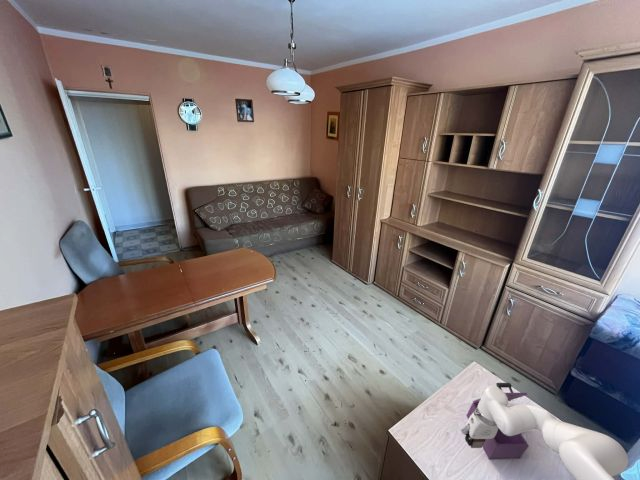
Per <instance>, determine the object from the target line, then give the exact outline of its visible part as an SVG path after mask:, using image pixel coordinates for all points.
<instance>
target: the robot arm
mask: <svg viewBox="0 0 640 480" xmlns="http://www.w3.org/2000/svg"><path fill="white" fill-rule="evenodd" d="M501 389H502V388H501ZM501 389H499V388H498V387H497V386H494V385H489V386H487V387H486V388H485V389H484V391H483V392H484V393H483V392H482V395H481V397H480V398H481V399H480V398H479V399H480V401H479V404H478V406H477V408H476V410H475V411H474V412H473V413H472V415H471V416H470V417H469V419H468V418H467V420H466V422H465V426H464V427H463V428H461V429H460V431H461V434H462V435H464V436H465V437H464V439H465V443H467V445H468V446H469V447H471V444H472V442H473V439H484V441H485V440H487V439H492V438H494V437H495V436H496V434H497V431H498V428H499V429H500V430H501V432H502V433H504V434H505V435H507V436H514V435H517V434H520V433H521V434H523V433H525V432H530V431H533V430H538V431H541V433H542V437H543V440H544V442H545V444H546V446H547V447H548V448H549V449H550V450H551V451H553V452H555V453H556V454H559V456H560V460H561V461H562V463H563V465H564V466H565V467H566V469H567V470H568V471H569V473H570V474H571V475H572V476H573V478H574V479H575V480H616V479H615V478H614V477H615V476H617V475H620V474H622V473H623V472H624V471H625V470H626V469H627V467H628V465H629V458H628V453H627V451H626V450H625V449H624V447H623V446H622V445H621V443H619V442H618V441H617V440H615V439H614V438H612V437H611V436H609V435H607V434H605V433H601V432H599V431H595V430H591V429H589V428H585V427H582V426H580V425H579V426H578V425H575V424H572V423H569V422H565V421H562V420H560V419H557V417H555V416H554V414H552V413H550V411H548V410H546V409H544V408H542V407H538V406H536V405H532V404H527V403H519V404H515V405H512V406H508V404H509V401H508V398H507V396H506V394H505V393H506V392H504V391H503V389H502V390H501Z"/></svg>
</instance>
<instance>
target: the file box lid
mask: <svg viewBox="0 0 640 480" xmlns="http://www.w3.org/2000/svg"><path fill="white" fill-rule="evenodd" d="M495 385H496V387H497V388H499V389H501V390H502V391H503V389H502V388H504V389H505V388H506V389H507V388H508V390H509V392H504V393H505V394H506V396H507V398H508V402H511V401H514V400H515V399H518V398H522V397H525V396H528V392H514V391H513V388H512V383H511V382H496V384H495ZM480 399H481V397H480V398H477V399H475V400H472V403H479V401H480ZM510 400H511V401H510Z"/></svg>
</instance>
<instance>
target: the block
mask: <svg viewBox="0 0 640 480" xmlns="http://www.w3.org/2000/svg"><path fill="white" fill-rule="evenodd" d="M484 442H485V441H484V439H473V442H472V444H471V446H470V449H483V447H482V446H483V444H484Z"/></svg>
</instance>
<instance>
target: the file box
mask: <svg viewBox="0 0 640 480" xmlns="http://www.w3.org/2000/svg"><path fill="white" fill-rule="evenodd" d="M478 404H479V403H473V402H472V403H471V405H470V406H469V410H468V411H467V413H466V418H467V420H468V419H469V417H470V416H471V415H472V413H473V412H474V411H475V410H476V408H477V406H478ZM529 447H530V445H529V444H528V442H527V440H526V439H525V437H524V436H523V433H520V434H517V435H514V436H507V435H505V434H504V433H502V432H501V430H500V429H499V428H498V431H497V434H496V436H495V437H494V438H492V439H487V440H485V442H484V444H483V446H482V450H483V451H484V453H485V454H486V457H487V459H488V460H518V459H521V458H522V456H523V455H524V454H525V452H526V451H527V449H529Z"/></svg>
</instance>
